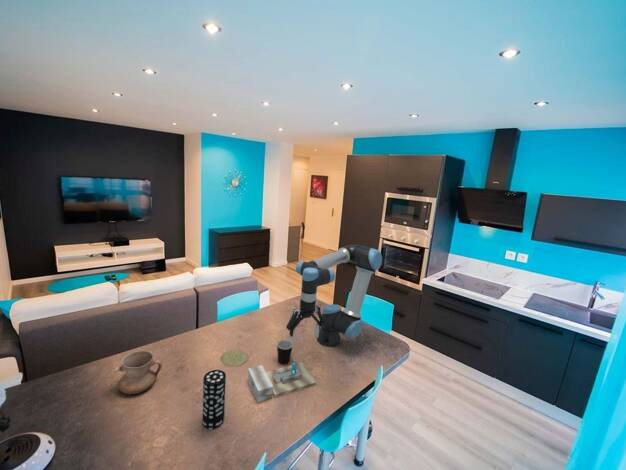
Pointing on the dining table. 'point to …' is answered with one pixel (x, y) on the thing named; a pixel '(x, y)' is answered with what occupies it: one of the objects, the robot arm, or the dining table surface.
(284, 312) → the dining table surface
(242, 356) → the sand dollar
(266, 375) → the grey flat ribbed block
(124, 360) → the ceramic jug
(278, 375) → the bolt
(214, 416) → the white-spotted black cylinder
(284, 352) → the coffee mug
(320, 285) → the robot arm
